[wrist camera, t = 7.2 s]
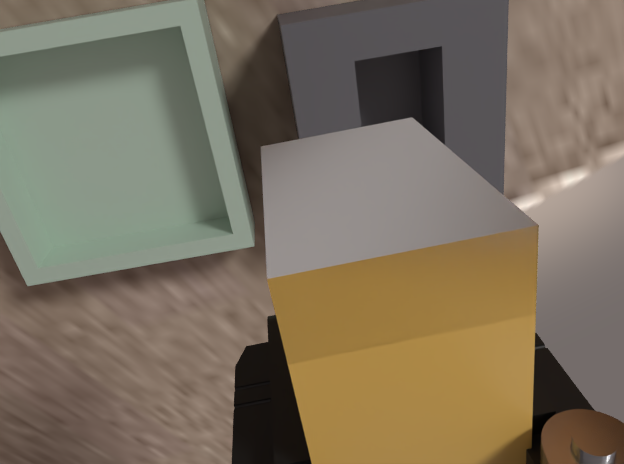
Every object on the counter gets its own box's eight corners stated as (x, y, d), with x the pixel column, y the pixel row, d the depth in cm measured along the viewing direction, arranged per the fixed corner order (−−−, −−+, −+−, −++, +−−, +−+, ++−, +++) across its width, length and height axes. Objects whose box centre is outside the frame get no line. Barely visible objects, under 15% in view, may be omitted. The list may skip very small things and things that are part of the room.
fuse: (372, 715, 10) (267, 279, 6) (335, 488, 15) (260, 146, 10) (524, 682, 10) (538, 225, 6) (440, 467, 15) (412, 117, 10)
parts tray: (46, 259, 32) (27, 286, 29) (-55, 38, 26) (-91, 47, 23) (254, 222, 32) (254, 246, 29) (202, -6, 26) (196, -2, 23)
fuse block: (306, 191, 31) (314, 228, 27) (277, 14, 27) (280, 25, 22) (469, 162, 32) (503, 195, 27) (467, -19, 27) (508, -14, 22)
